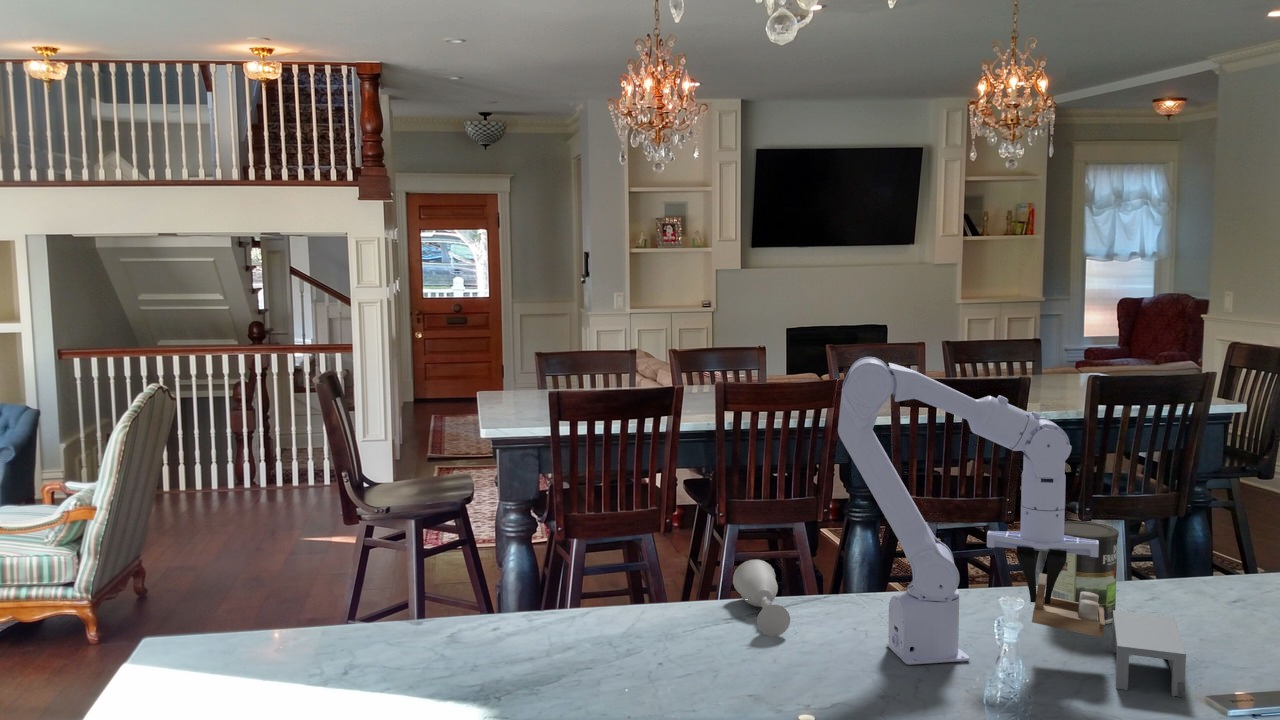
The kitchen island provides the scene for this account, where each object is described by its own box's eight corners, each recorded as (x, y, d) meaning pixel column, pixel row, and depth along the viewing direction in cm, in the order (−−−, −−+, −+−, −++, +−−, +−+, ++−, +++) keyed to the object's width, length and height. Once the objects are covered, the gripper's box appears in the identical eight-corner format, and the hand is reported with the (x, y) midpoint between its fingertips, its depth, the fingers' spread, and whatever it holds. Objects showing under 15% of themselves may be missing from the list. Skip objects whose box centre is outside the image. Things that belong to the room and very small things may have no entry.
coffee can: (1122, 612, 165) (1125, 526, 164) (1107, 630, 157) (1109, 540, 155) (1056, 600, 171) (1058, 517, 170) (1037, 617, 163) (1039, 530, 162)
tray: (1031, 622, 141) (1036, 586, 141) (1034, 605, 149) (1039, 571, 148) (1102, 637, 138) (1108, 600, 137) (1101, 619, 145) (1107, 584, 144)
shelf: (1116, 688, 135) (1117, 645, 135) (1111, 649, 149) (1112, 610, 149) (1184, 697, 132) (1186, 654, 132) (1173, 656, 146) (1174, 616, 146)
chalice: (800, 637, 156) (778, 594, 174) (794, 595, 155) (772, 556, 173) (752, 645, 156) (735, 601, 174) (746, 603, 155) (730, 563, 173)
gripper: (985, 508, 142) (983, 603, 144) (1100, 517, 137) (1097, 616, 138) (989, 497, 149) (988, 588, 150) (1099, 505, 143) (1096, 600, 144)
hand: (1040, 601), depth 144 cm, fingers closed on tray
